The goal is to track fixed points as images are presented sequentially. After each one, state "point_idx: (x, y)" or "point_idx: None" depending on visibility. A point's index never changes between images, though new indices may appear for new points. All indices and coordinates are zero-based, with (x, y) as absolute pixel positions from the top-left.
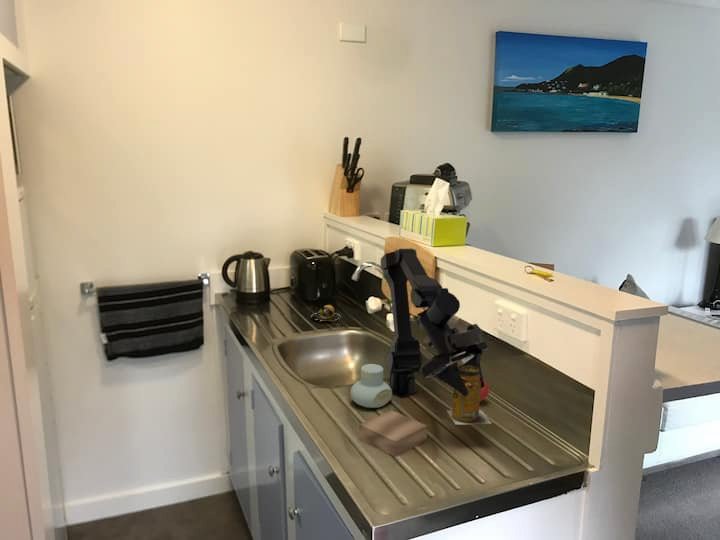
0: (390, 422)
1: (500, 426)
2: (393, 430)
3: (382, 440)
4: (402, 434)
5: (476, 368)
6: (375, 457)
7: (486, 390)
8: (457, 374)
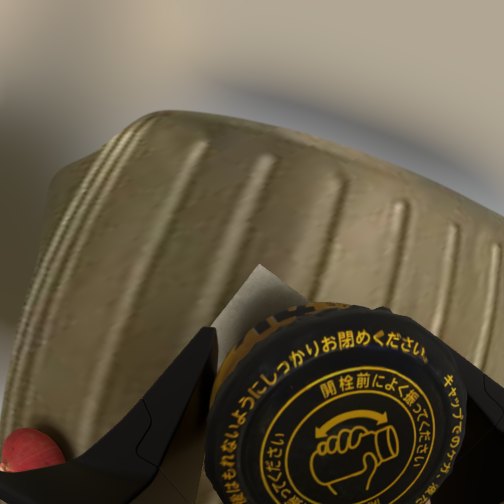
0: (428, 500)
1: (115, 335)
2: None
3: None
4: None
5: (272, 400)
6: None
7: (24, 433)
8: (501, 408)
